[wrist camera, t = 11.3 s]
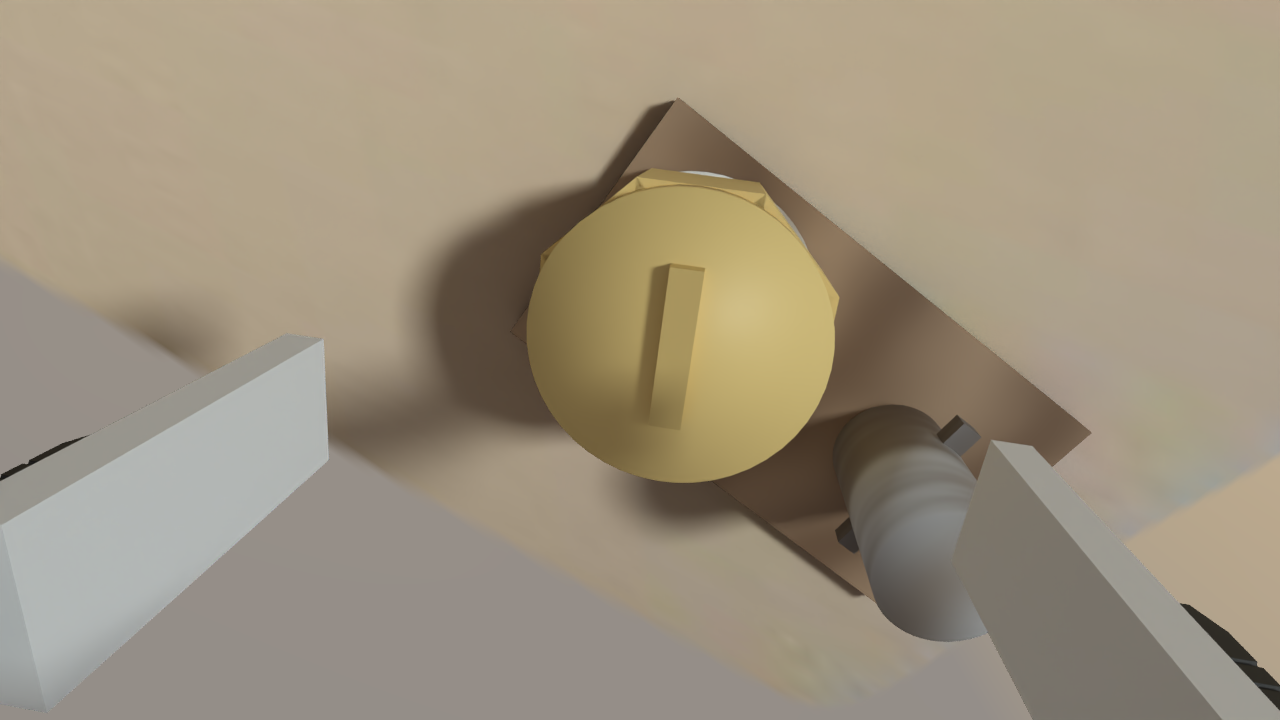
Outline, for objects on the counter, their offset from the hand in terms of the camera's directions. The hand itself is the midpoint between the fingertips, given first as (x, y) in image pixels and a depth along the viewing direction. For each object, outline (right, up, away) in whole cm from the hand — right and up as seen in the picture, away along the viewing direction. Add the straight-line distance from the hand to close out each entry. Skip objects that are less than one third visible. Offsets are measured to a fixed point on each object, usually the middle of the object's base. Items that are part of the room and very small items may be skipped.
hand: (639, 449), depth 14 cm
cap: (+2, +4, +13) cm, 13 cm away
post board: (+6, +1, +14) cm, 16 cm away
